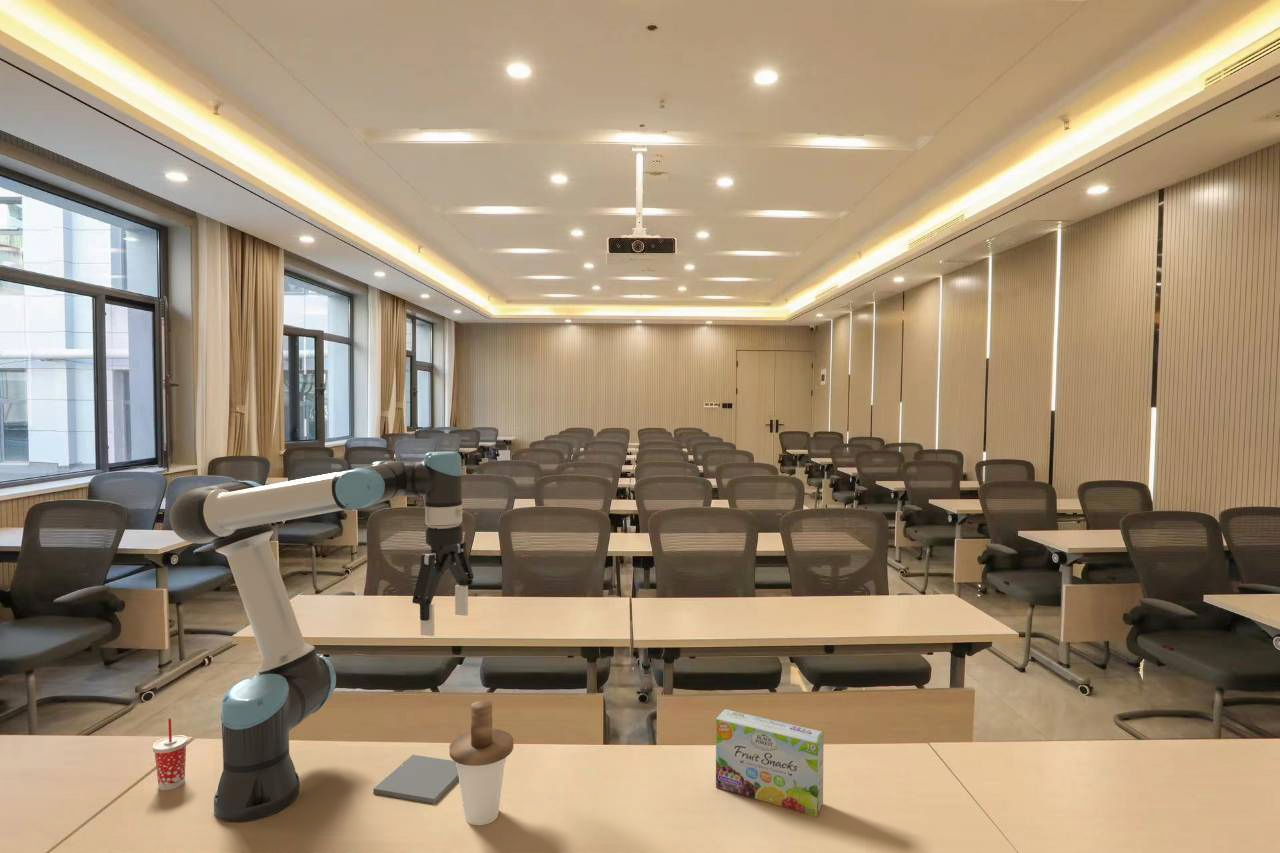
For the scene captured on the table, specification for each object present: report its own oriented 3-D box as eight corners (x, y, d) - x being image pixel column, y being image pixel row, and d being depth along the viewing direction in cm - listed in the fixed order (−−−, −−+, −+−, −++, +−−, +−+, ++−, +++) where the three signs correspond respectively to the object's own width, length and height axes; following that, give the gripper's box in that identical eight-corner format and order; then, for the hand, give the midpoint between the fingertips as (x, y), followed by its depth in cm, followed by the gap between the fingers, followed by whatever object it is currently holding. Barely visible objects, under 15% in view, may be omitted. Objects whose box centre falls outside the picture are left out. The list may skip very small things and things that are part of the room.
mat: (373, 793, 142) (373, 788, 142) (412, 759, 156) (412, 754, 156) (434, 803, 138) (434, 798, 138) (469, 767, 152) (469, 763, 152)
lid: (437, 761, 130) (436, 715, 130) (468, 731, 142) (468, 689, 141) (496, 769, 127) (496, 722, 127) (523, 738, 139) (523, 695, 138)
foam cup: (512, 802, 139) (511, 739, 138) (498, 831, 130) (497, 763, 129) (466, 800, 140) (465, 736, 139) (449, 828, 130) (448, 760, 130)
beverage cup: (186, 787, 144) (184, 721, 144) (151, 795, 142) (148, 727, 141) (191, 773, 150) (189, 709, 149) (156, 780, 147) (154, 715, 146)
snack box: (714, 789, 144) (714, 718, 143) (724, 776, 148) (724, 707, 148) (817, 818, 134) (818, 741, 133) (824, 803, 139) (824, 729, 138)
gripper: (426, 537, 134) (428, 646, 134) (488, 516, 158) (489, 608, 159) (392, 535, 136) (394, 642, 136) (458, 514, 160) (459, 606, 160)
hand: (445, 624), depth 147 cm, fingers open, 13 cm apart
